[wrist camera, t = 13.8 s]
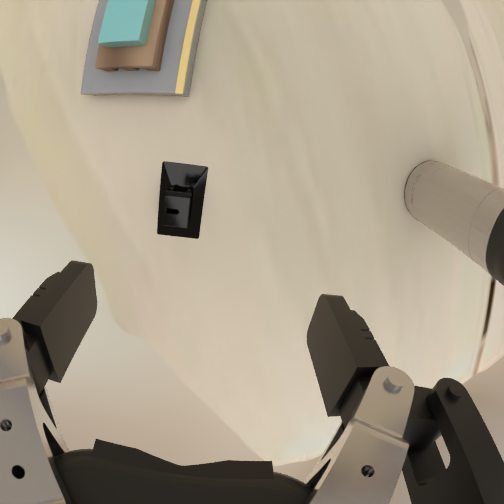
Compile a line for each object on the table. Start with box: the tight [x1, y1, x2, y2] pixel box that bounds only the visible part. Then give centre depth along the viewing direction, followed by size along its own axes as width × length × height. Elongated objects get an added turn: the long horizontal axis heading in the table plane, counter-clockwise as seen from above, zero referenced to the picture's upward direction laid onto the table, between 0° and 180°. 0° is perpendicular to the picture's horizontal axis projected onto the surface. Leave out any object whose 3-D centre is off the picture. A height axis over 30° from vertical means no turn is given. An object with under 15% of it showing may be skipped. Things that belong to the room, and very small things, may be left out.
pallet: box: [95, 0, 174, 72], centre depth 22 cm, size 6×9×4 cm, turn 171°
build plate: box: [157, 161, 208, 239], centre depth 34 cm, size 12×7×5 cm, turn 170°
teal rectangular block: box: [98, 0, 156, 48], centre depth 19 cm, size 4×5×2 cm
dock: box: [81, 0, 207, 96], centre depth 25 cm, size 12×14×4 cm
